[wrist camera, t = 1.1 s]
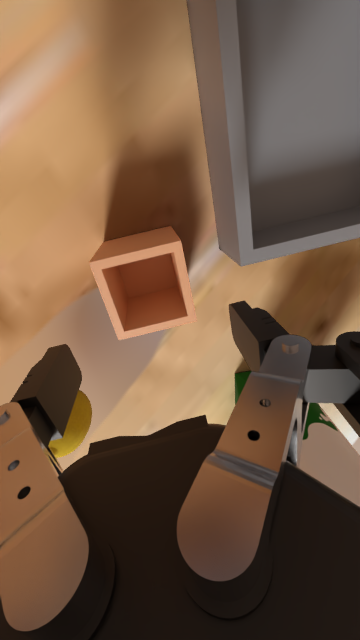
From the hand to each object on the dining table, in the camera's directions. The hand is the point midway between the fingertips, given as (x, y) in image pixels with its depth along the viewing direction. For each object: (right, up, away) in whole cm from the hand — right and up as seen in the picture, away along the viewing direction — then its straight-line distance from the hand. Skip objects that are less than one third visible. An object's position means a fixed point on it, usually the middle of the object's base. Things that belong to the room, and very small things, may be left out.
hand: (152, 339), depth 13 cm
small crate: (-2, +6, +11) cm, 13 cm away
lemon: (-11, -7, +17) cm, 21 cm away
